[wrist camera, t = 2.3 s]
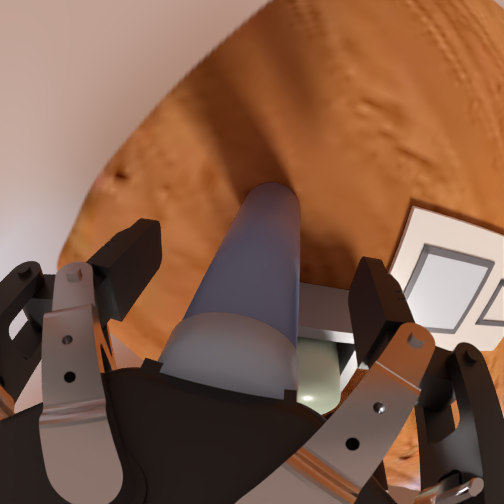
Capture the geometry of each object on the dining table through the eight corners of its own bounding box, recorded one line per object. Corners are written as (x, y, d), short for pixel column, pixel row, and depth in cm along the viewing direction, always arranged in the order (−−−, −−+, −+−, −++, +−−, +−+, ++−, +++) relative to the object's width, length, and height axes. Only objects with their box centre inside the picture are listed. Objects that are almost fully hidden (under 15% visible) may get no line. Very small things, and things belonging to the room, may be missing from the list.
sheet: (547, 253, 13) (550, 256, 12) (491, 347, 18) (493, 351, 18) (412, 205, 14) (415, 208, 14) (356, 339, 20) (357, 344, 19)
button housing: (365, 292, 17) (375, 336, 14) (334, 358, 21) (336, 399, 18) (261, 275, 18) (251, 317, 15) (250, 345, 22) (241, 386, 18)
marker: (307, 186, 15) (315, 389, 4) (296, 241, 16) (279, 448, 6) (245, 176, 15) (133, 349, 5) (239, 231, 17) (158, 421, 6)
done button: (346, 324, 16) (353, 383, 13) (325, 367, 19) (325, 420, 15) (274, 313, 17) (265, 372, 13) (263, 358, 19) (254, 411, 15)
